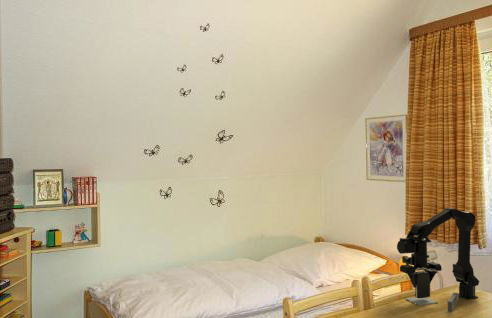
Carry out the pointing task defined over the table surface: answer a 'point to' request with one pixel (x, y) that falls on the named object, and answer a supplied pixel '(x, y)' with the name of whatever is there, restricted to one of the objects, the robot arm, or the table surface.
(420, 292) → the battery
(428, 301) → the mat
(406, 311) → the table surface
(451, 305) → the grey rectangular bar
